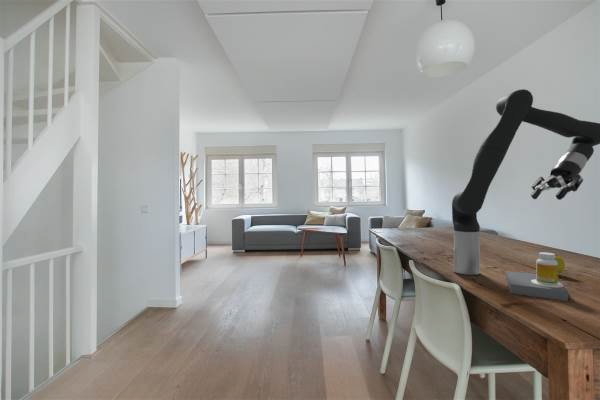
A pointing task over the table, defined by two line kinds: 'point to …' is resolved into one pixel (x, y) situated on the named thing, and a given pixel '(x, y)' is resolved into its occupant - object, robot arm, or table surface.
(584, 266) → the table surface
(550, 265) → the supplement bottle
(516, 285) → the plinth
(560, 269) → the lemon
